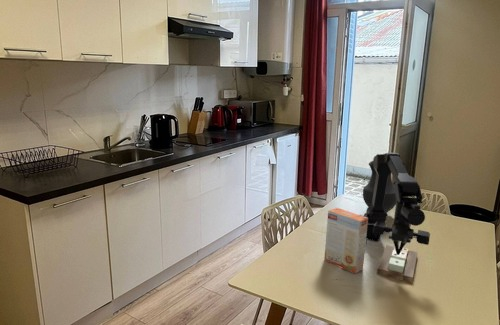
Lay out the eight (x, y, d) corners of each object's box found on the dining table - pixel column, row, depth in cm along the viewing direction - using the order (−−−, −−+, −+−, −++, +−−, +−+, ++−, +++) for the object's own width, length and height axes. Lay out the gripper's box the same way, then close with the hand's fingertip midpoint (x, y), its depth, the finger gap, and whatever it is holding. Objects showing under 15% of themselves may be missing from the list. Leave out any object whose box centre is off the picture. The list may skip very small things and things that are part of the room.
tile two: (390, 261, 139) (391, 255, 139) (392, 256, 143) (393, 249, 143) (404, 264, 137) (405, 258, 136) (406, 259, 141) (406, 252, 141)
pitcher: (355, 209, 198) (360, 156, 191) (388, 207, 203) (394, 155, 196) (372, 221, 182) (379, 163, 175) (408, 219, 187) (416, 162, 180)
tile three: (392, 256, 145) (393, 250, 145) (394, 251, 150) (395, 245, 149) (406, 259, 143) (407, 253, 143) (407, 254, 147) (408, 248, 147)
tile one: (388, 269, 133) (388, 262, 132) (389, 263, 137) (390, 257, 137) (402, 273, 131) (403, 266, 130) (404, 267, 135) (405, 260, 135)
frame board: (376, 273, 134) (377, 268, 133) (385, 249, 153) (386, 245, 152) (412, 282, 128) (412, 277, 128) (416, 256, 147) (417, 252, 147)
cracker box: (363, 269, 136) (369, 217, 132) (354, 274, 133) (360, 221, 128) (332, 255, 147) (336, 206, 142) (323, 259, 143) (327, 209, 138)
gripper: (372, 216, 127) (367, 257, 130) (431, 227, 118) (424, 271, 122) (377, 206, 136) (373, 244, 140) (432, 216, 128) (426, 257, 131)
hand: (398, 254), depth 133 cm, fingers closed
